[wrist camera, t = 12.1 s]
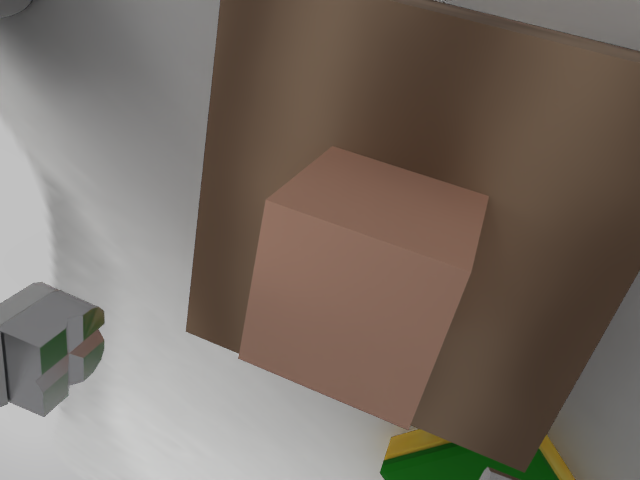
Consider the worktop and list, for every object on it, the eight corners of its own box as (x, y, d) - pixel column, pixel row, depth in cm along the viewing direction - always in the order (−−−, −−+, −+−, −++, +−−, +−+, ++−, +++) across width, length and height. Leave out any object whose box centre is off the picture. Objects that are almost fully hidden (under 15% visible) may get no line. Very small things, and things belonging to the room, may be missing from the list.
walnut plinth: (231, 285, 26) (185, 331, 23) (279, -38, 20) (224, -42, 16) (527, 400, 23) (524, 472, 20) (700, 66, 17) (742, 89, 13)
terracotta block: (302, 276, 20) (238, 358, 16) (332, 146, 17) (265, 199, 13) (438, 328, 19) (408, 430, 15) (489, 196, 16) (471, 272, 12)
